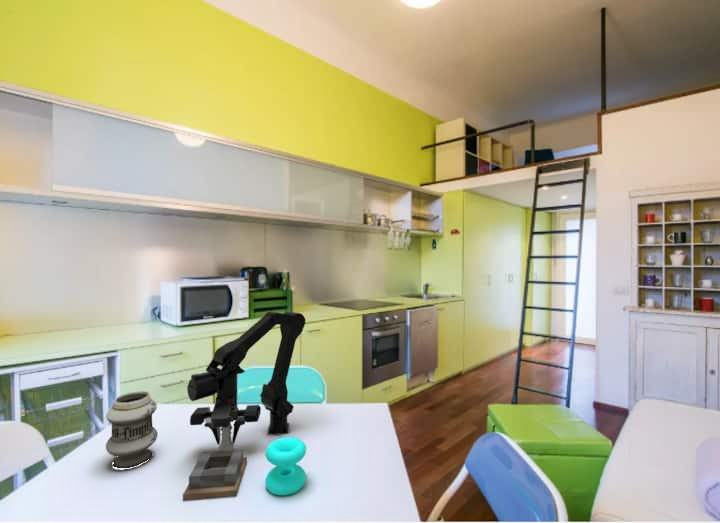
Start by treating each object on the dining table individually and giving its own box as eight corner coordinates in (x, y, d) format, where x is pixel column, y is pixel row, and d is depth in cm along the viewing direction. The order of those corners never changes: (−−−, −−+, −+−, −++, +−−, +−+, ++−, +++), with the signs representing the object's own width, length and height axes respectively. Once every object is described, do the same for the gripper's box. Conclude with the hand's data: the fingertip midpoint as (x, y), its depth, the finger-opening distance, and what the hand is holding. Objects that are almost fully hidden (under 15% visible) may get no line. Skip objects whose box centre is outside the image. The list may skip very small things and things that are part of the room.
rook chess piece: (237, 450, 101) (237, 423, 101) (225, 458, 97) (226, 430, 97) (226, 446, 103) (226, 420, 103) (214, 454, 99) (214, 426, 99)
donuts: (301, 456, 81) (260, 455, 81) (301, 498, 81) (259, 497, 81) (309, 435, 91) (272, 434, 91) (309, 473, 91) (271, 471, 91)
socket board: (201, 465, 94) (201, 449, 94) (247, 462, 95) (247, 446, 95) (182, 500, 80) (183, 481, 80) (236, 496, 82) (236, 477, 82)
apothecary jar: (101, 460, 96) (102, 396, 96) (149, 443, 104) (150, 385, 104) (111, 479, 87) (112, 409, 87) (163, 459, 96) (164, 396, 96)
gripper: (183, 403, 91) (182, 461, 91) (255, 400, 94) (254, 456, 94) (196, 388, 102) (196, 440, 102) (261, 385, 105) (260, 436, 105)
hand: (226, 443), depth 100 cm, fingers open, 4 cm apart
